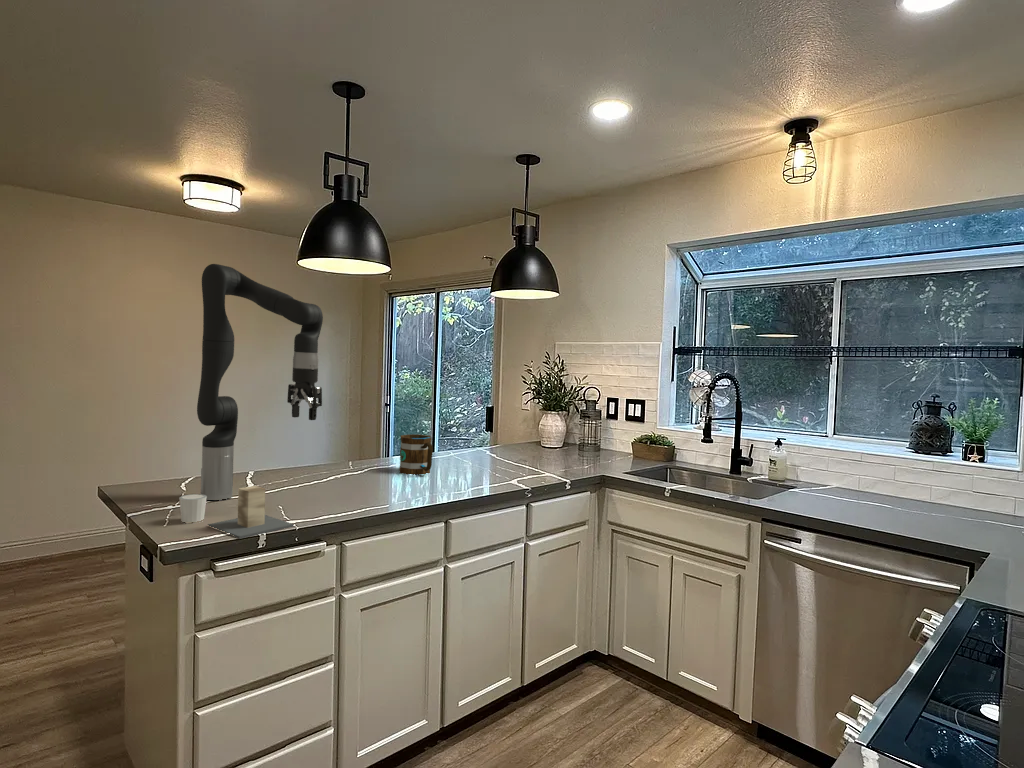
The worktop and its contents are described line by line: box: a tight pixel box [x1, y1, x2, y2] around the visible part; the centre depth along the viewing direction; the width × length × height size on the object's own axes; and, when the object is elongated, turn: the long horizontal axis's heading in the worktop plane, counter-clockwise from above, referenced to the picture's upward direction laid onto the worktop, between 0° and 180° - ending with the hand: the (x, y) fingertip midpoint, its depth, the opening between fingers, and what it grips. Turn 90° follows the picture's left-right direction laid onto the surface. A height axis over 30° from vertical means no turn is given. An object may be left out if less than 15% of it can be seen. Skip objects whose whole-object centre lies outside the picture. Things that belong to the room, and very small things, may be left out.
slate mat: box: [207, 514, 294, 540], centre depth 168 cm, size 16×16×1 cm
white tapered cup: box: [178, 493, 207, 523], centre depth 170 cm, size 7×7×7 cm
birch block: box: [237, 485, 266, 528], centre depth 168 cm, size 5×5×10 cm
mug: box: [398, 433, 434, 476], centre depth 251 cm, size 20×14×15 cm
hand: (303, 418), depth 189 cm, fingers open, 8 cm apart
